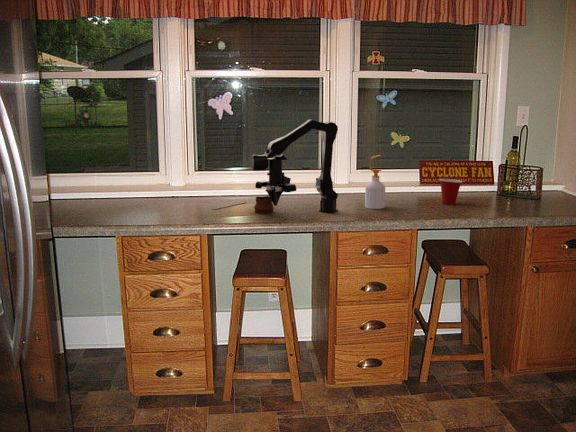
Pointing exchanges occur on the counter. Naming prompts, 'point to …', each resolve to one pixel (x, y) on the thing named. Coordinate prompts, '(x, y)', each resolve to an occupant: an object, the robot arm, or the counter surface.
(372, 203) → the soap bottle
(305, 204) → the counter surface
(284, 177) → the robot arm
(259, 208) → the ceramic pot
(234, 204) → the strip
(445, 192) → the plastic cup
